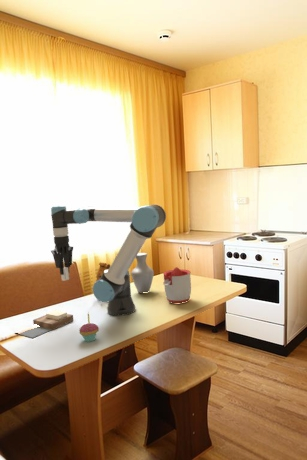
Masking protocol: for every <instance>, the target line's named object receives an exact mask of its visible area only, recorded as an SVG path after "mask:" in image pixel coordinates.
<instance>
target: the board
mask: <svg viewBox="0 0 307 460" xmlns="http://www.w3.org/2000/svg"><path fill="white" fill-rule="evenodd" d="M32 322H33V323H32V324H33V325H34V324H37V325H39V326H40V327H44V328H49V329H52V330H56V329H58V328H60V327H62V326H65V325H67V324H69V323H71V322H74V315H73V314H69V313H67V316H66V317H64V318H62V319H59V320H56V319H51V318H47V317H46V314H45V315H42V316H40V317H38V318H34V319H33V320H32ZM52 330H51V331H52Z"/></svg>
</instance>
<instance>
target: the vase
mask: <svg viewBox="0 0 307 460" xmlns="http://www.w3.org/2000/svg"><path fill="white" fill-rule="evenodd" d="M147 256H148V253H147V252H139V253H138V254H137V256H136V258H135V259H136V266H135V267H134V268H133V269H132V270H131V272H130V277H131V279H132V281H133V285H134V286H135V288H136V290H137V292H140V293H143V292H148V291H149V292H150V289H151V287H152V283H153V278H154V273H155V272H154V269H152V267H150V266H149V265H148V264H147Z"/></svg>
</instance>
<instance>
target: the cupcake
mask: <svg viewBox="0 0 307 460" xmlns="http://www.w3.org/2000/svg"><path fill="white" fill-rule="evenodd" d="M99 331H100V328H99V326H98V325H97V324H96V323H92V322H91V321H90V313H89V312H87V323H86V324H85V323H84V324H83V325H82V326H80V328H79V334H80V335H81V337H82V338H83V340H84V341H85V342H87V343H88V342H89V343H90V342H93V341H95V339H96V337H97V333H98V332H99Z"/></svg>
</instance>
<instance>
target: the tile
mask: <svg viewBox="0 0 307 460" xmlns="http://www.w3.org/2000/svg"><path fill="white" fill-rule="evenodd" d="M67 314H68V312H67V311H64V310H63V311H62V310H57V309H55V310H52V311H49V312H46V313H45V315H46V317H47V318H51V319H56V320H59V319H62V318H64V317H66V316H67Z"/></svg>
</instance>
